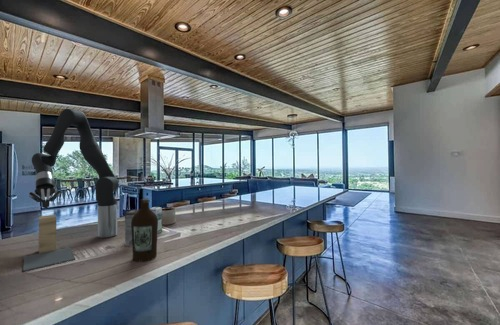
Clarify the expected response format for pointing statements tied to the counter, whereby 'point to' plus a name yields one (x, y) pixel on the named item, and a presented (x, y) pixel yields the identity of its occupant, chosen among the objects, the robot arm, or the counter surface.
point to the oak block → (47, 233)
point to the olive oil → (144, 233)
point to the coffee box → (129, 227)
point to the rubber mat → (47, 259)
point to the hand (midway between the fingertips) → (45, 207)
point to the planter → (168, 216)
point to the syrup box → (159, 215)
